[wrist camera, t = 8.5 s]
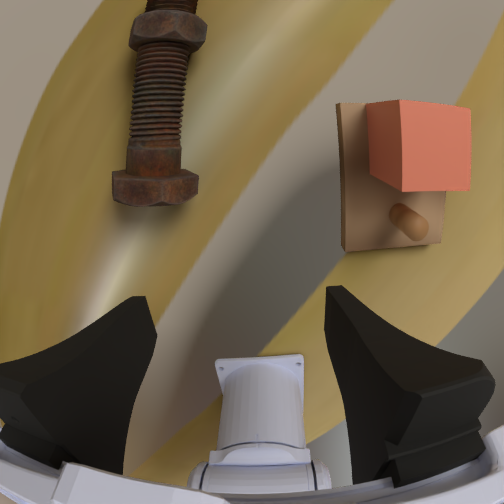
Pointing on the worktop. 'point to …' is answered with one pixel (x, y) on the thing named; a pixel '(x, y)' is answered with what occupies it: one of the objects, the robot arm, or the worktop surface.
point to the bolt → (159, 106)
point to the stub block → (379, 196)
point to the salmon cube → (420, 145)
